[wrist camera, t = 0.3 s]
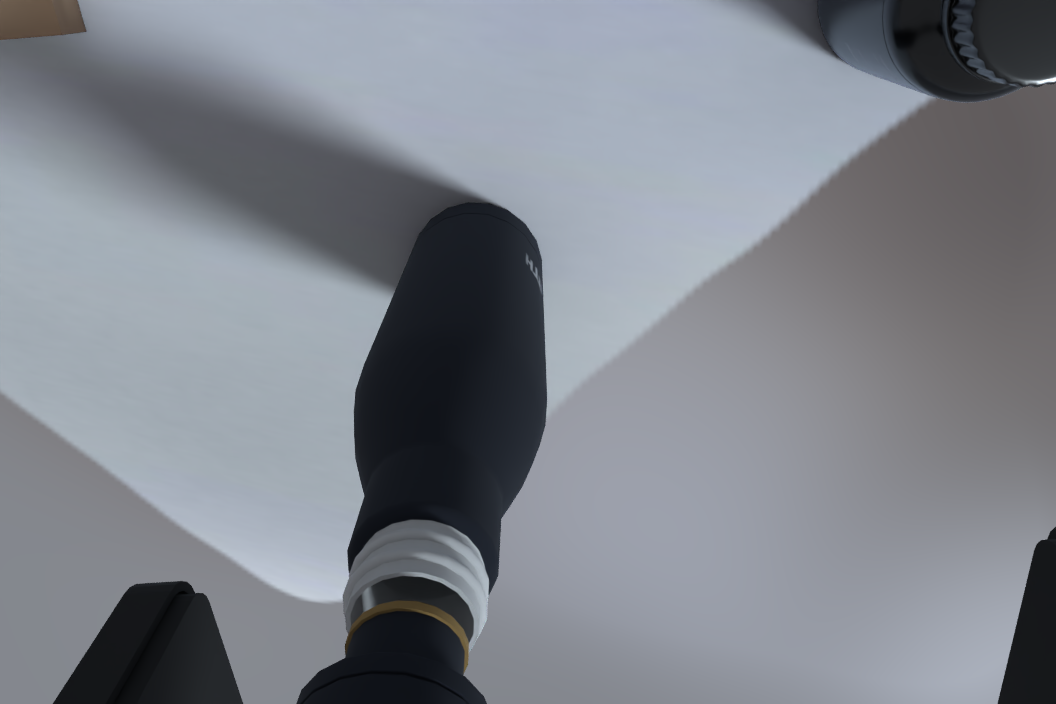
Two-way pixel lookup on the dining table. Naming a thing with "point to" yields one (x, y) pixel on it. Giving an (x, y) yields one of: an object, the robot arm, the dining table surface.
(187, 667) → the robot arm
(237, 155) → the dining table surface
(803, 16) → the dining table surface
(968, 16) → the supplement bottle
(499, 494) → the black water bottle
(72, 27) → the socket base
